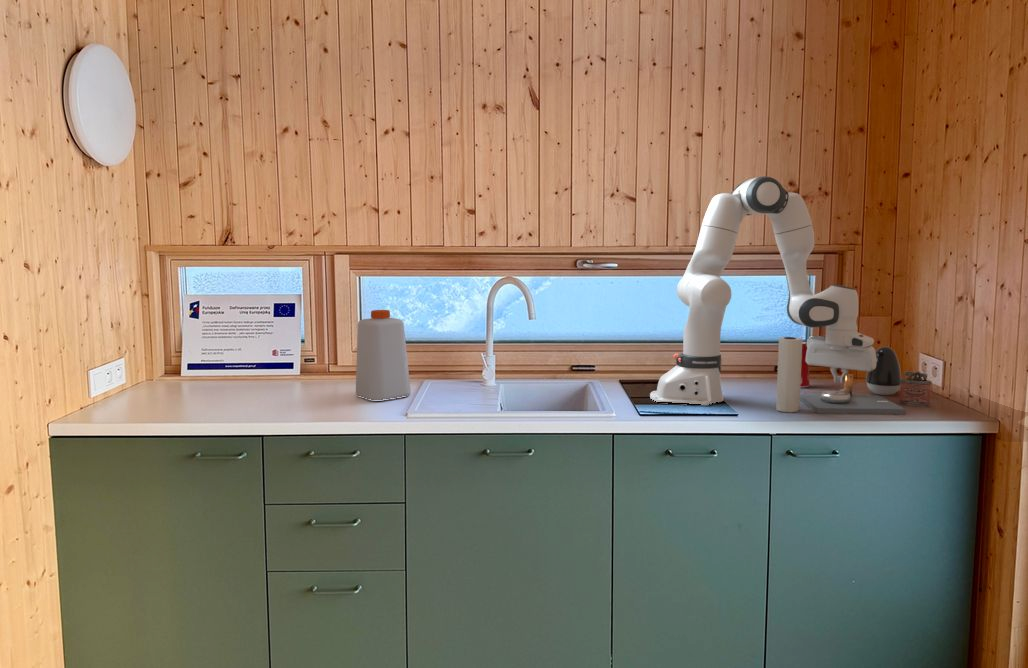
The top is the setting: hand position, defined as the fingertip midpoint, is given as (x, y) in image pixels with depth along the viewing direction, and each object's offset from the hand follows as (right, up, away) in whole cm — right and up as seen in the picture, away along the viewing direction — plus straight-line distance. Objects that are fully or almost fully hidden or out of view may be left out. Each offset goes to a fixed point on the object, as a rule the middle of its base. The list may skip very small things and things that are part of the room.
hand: (838, 382), depth 222 cm
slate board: (-1, -7, -9) cm, 11 cm away
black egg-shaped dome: (+17, -4, +7) cm, 19 cm away
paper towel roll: (-21, -8, -13) cm, 26 cm away
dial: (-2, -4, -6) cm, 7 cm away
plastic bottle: (-143, -6, +11) cm, 143 cm away
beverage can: (-5, -3, +19) cm, 20 cm away
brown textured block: (+19, -6, -8) cm, 22 cm away
